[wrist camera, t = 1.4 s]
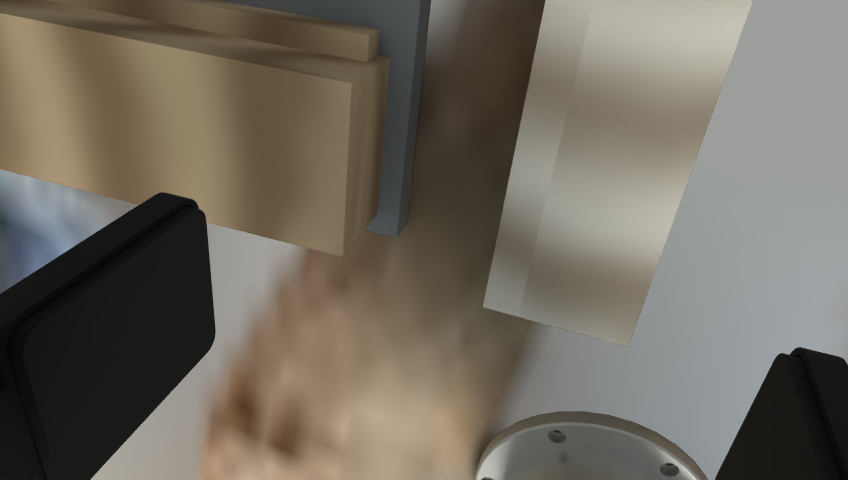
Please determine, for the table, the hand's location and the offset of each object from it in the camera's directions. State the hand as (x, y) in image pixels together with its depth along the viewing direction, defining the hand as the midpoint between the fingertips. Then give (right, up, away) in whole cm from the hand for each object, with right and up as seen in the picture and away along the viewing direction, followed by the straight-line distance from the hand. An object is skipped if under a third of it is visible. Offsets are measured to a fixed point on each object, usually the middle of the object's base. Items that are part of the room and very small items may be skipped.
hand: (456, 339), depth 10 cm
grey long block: (+7, +8, +15) cm, 18 cm away
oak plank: (-12, +9, +18) cm, 23 cm away
